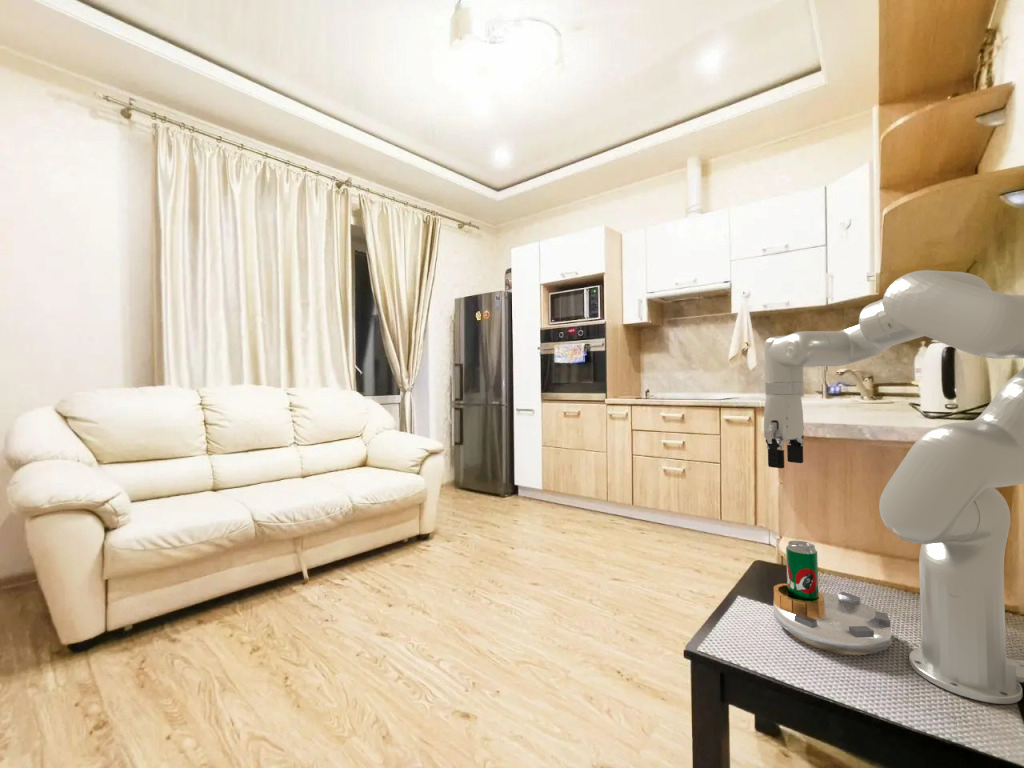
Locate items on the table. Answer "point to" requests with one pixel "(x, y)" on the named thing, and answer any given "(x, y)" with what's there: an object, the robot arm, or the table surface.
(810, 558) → the soda can
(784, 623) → the oval platform with pads
